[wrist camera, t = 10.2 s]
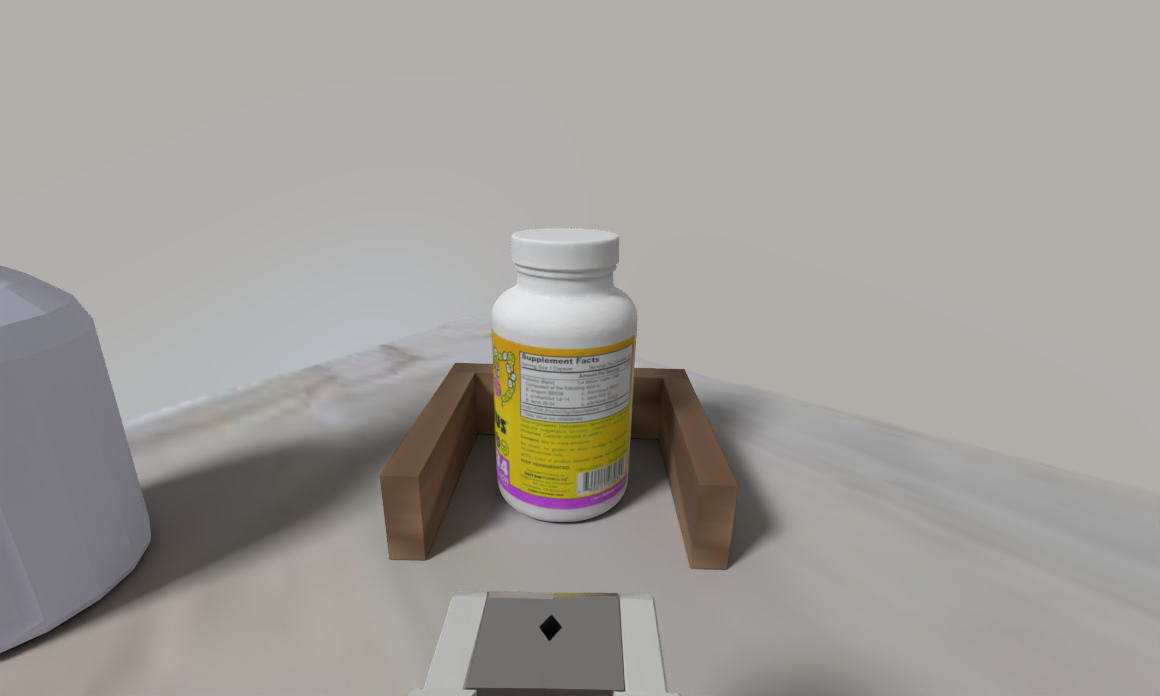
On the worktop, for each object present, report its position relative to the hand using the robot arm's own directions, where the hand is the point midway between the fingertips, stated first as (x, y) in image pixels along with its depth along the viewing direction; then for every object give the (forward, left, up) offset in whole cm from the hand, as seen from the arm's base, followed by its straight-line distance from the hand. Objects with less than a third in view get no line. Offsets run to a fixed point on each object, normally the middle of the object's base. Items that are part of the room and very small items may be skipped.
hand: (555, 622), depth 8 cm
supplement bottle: (+1, -17, -9) cm, 20 cm away
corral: (+1, -18, -9) cm, 20 cm away
